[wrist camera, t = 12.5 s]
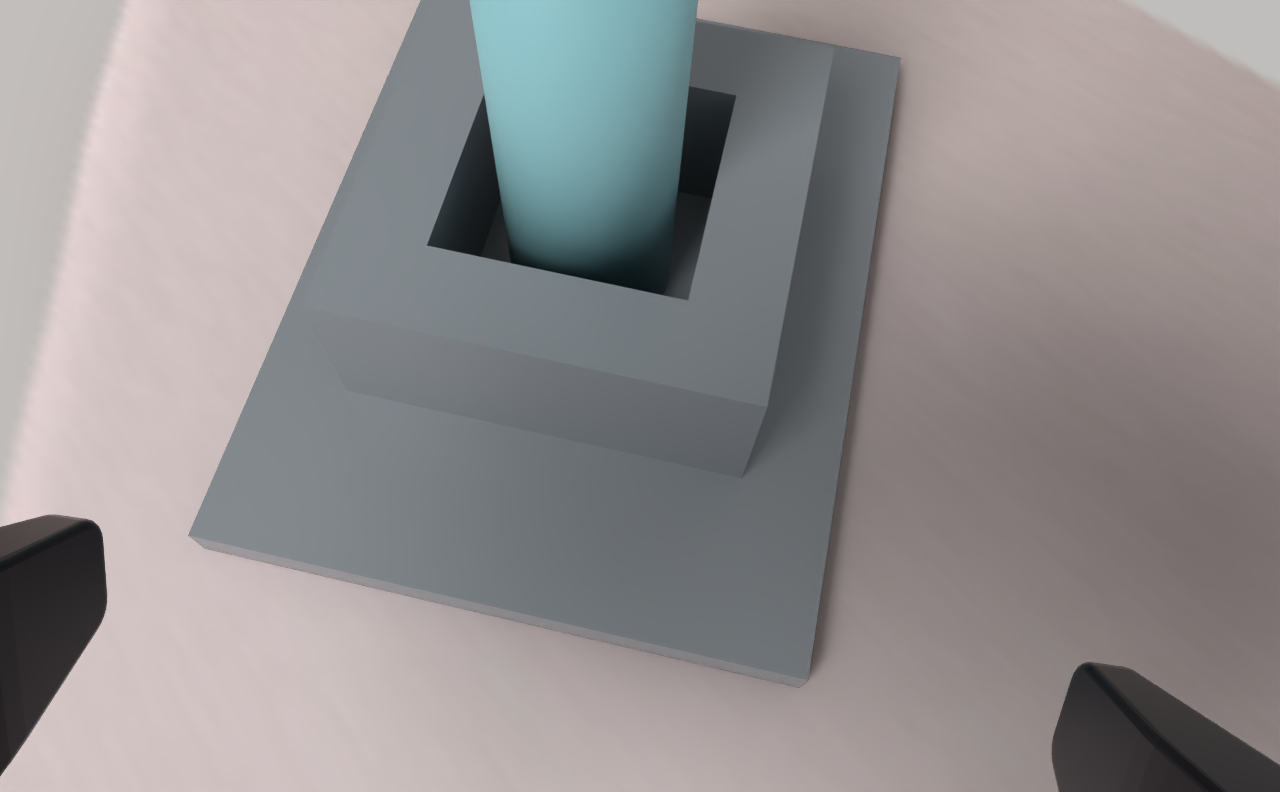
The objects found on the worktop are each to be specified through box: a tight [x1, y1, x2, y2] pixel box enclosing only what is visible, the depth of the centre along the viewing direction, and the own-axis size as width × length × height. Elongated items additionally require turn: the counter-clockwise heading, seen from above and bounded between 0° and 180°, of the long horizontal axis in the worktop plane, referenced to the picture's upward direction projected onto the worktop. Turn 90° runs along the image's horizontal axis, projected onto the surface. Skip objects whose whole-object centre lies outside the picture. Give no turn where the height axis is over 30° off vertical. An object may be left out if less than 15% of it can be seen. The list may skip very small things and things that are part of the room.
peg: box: [469, 0, 698, 295], centre depth 20 cm, size 4×4×13 cm
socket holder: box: [188, 0, 900, 688], centre depth 24 cm, size 18×14×5 cm
